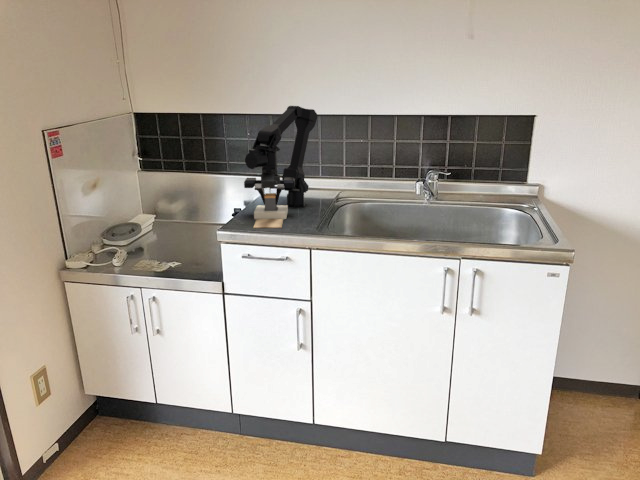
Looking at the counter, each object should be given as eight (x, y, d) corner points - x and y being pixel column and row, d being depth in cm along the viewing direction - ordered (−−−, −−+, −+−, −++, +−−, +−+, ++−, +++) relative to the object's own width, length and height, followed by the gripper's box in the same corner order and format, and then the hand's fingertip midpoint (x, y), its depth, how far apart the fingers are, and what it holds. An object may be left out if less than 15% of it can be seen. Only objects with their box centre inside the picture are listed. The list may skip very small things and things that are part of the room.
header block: (287, 211, 211) (287, 203, 210) (286, 218, 202) (286, 210, 200) (257, 211, 211) (256, 203, 210) (254, 219, 202) (253, 210, 201)
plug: (276, 213, 208) (276, 193, 206) (276, 216, 204) (275, 196, 202) (266, 213, 208) (265, 193, 206) (265, 216, 204) (264, 196, 202)
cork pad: (283, 219, 201) (283, 218, 201) (281, 228, 191) (281, 227, 191) (256, 219, 201) (256, 218, 201) (253, 228, 191) (253, 227, 191)
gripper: (241, 168, 192) (243, 210, 197) (293, 168, 192) (294, 210, 197) (245, 162, 203) (247, 202, 208) (294, 162, 203) (295, 202, 208)
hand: (270, 204), depth 205 cm, fingers closed on plug, 4 cm apart
